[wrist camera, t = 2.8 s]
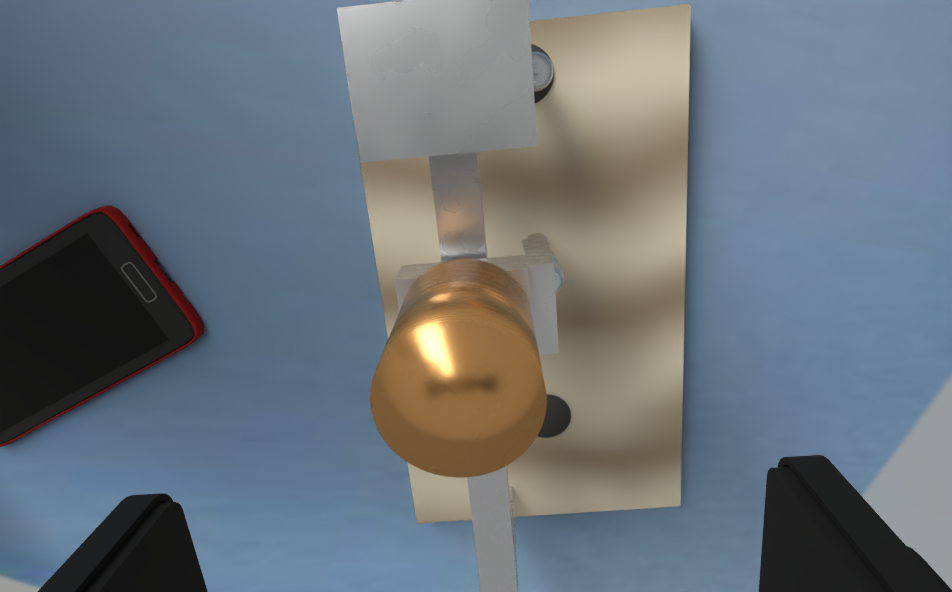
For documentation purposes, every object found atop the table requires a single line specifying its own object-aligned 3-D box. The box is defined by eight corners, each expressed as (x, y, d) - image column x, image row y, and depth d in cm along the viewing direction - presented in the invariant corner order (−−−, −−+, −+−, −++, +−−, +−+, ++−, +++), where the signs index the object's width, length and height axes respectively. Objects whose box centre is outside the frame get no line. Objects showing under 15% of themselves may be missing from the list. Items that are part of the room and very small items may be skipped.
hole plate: (349, 43, 26) (340, 41, 24) (679, 8, 25) (691, 3, 23) (420, 505, 33) (416, 524, 32) (672, 488, 33) (681, 507, 31)
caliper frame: (389, 36, 24) (336, 7, 16) (536, 20, 24) (562, -17, 15) (452, 505, 32) (438, 658, 23) (563, 498, 31) (591, 651, 23)
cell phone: (215, 329, 31) (206, 336, 30) (3, 444, 33) (-11, 455, 32) (117, 197, 28) (104, 200, 27) (-102, 331, 31) (-120, 339, 30)
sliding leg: (422, 208, 26) (357, 329, 13) (547, 197, 26) (607, 308, 13) (433, 295, 27) (384, 483, 14) (552, 285, 27) (610, 467, 14)
